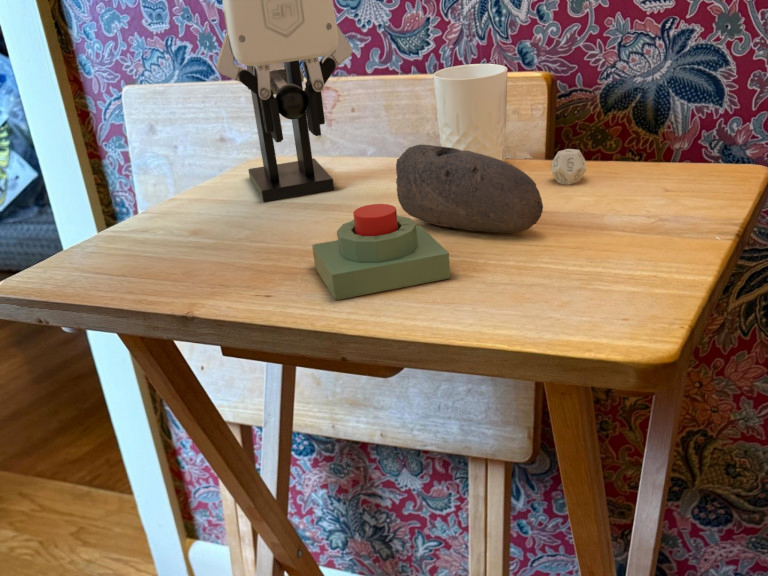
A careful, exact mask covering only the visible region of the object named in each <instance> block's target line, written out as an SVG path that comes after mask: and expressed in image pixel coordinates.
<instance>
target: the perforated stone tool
mask: <svg viewBox="0 0 768 576" xmlns="http://www.w3.org/2000/svg"><path fill="white" fill-rule="evenodd" d="M395 162H396V164H395V173H396V180H395V184H396V193H397V200H398V203H399V205H400V207H401V209H402V210H403V211H404V212H405V213H406V214H408V215H409V216H410V217H412V218H415V219H417V220H420V221H423V222H426V223H429V224H432V225H435V226H438V227H444V228H452V229H457V230H465V231H473V232H475V231H477V232H485V233H495V234H511V233H518V232H523V231H527V230H529V229H531V228H532V227H533V226H534V225H536V224H537V223H538V222H539V220H540V219H541V217H542V214H543V210H544V204H543V203H544V202H543V199H542V196H541V193H540V191H539V189H538V187H537V183H536V182H535V181H534V180H533V179H532V178H531V177H530V176H529V175H528V174H527V173H525V172H524V171H523V170H521V169H520V168H518V167H516V166H515V165H513V164H511V163H508V162H506V161H505V160H504V161H502V160H499V159H496V158H493V157H490V156H486V155H483V154H479V153H475V152H472V151H468V150H464V151H462V150H459V149H455V148H449V147H441V145H431V144H416V145H413V146H410V147H408V148H407V149H405V151H403V153H401V155H400V156H399V157H398V158H396V161H395Z"/></svg>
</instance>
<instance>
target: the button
mask: <svg viewBox="0 0 768 576" xmlns="http://www.w3.org/2000/svg"><path fill="white" fill-rule="evenodd" d="M352 215H353V220H354V224H355V233H356V234H357V235H361V236H380V235H385V234H390V233H392V232H395V231H397V230H398V222H397V215H398V210H397V207H396V206H395V205H392V204H389V203H373V204H367V205H363V206H360V207H358V208H356V209H354V210H353V213H352Z"/></svg>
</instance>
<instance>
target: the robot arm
mask: <svg viewBox="0 0 768 576" xmlns="http://www.w3.org/2000/svg"><path fill="white" fill-rule="evenodd" d="M221 3H222V9H223V17H224V18H223V19H224V23H225V35H224V39H223V42H222V45H221V48H220V52H219V55H218V59H217V62H216V70H217V72H219V74H220V75H222V76H225V77H227V78H229V79H232V80H234V81H237V82H239V83H241V84H242V85H244V86H245V87H246V88H247V89H248V88H249V89H250V90H249V91H250V92H251V91H253V92H254V93H255V94H256V95H258V96H259V97H260V103H261V110H262V116H263V122H264V127H265V131H266V133H271V134H272V137H273V141H275V143H282V141H284V135H283V128H282V122H281V116H280V115H281V114H280V113H279V108H278V102H277V99H276V98H275V97H276V96H274V95H275V94H274V95H273V91H272V90H271V85H270V64H277V63H282V64H284V62H291V61H298V60H299V61H301V64H302V67H303V68H302V69H303V73H304V76H305V80H306V81H305V83H304V85H305V87H304V89H303V91H304V92H305V94H306V97H307V109H306V116H307V123H308V131H309V133H311V134H312V135H313V136H315V137H321V136H322V131H321V130H322V129H321V125H325V123H326V120H325V119H326V118H325V109H324V103H323V95H322V91H323V90H324V88H325V84H326V83H328V80H329V79H330V77H331V76H332V74H333V73H334V72H335V70H336V68H338V66H340V65H341V64H343V63H344V62H345V61H346V60H347V59H348V58H349V57H350V56H352V54H353V47H352V46H351V44H350V43H349V41H348V39H347V38H346V36H345V34H344V33H343V32H342V30H341V28H340V27H339V25H338V23H337V18H336V12H335V5H334V0H221ZM319 58H321V59H320V60H319ZM235 60H236V61H237V62H238V63H240V64H241V65H244V66H246V67H247V66H253V72H254V75H253V74H252V73H250V72H249V71H248V70H247V68H245V67H242V66H240V65H238V64H236V63H235Z"/></svg>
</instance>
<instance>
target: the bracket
mask: <svg viewBox="0 0 768 576" xmlns="http://www.w3.org/2000/svg"><path fill="white" fill-rule="evenodd" d="M283 66H284V67H285V68H286V75H287V82H288V84H295V85H297V86H299V87H300V88H301V89H302V90H303V91H304V88H303V82H304V79H305V78H304V70H303V68H302V67H301V65H300V60H298V61H291V62H284V63H283ZM246 69H247V70H248V71H249V72H250V73H252V74H253V75H254V72H253V66H247V65H246ZM247 90H249V91H250V93H251V99H252V100H251V101H252V105H253V111H254V118H255V123H256V129H257V136H258V142H259V147H260V153H261V160H262V165H263V166H258V167H253V168H251V167H250V168H248V170H247V171H248V175H249V180H250V182H251V183H252V185H253V186H254V189H255V190H256V191H257V193H258V195H259V196H260V198H261V200H262V201H263V202H264V203H265V202H270V201H276V200H283V199H287V198H289V199H290V198H294V197H299V196H306V195H313V194H317V193H324V192H329V191H335V184H334V179H333V177H332V176H331V174H329V173H328V172H327V170H325V169H324V167H323V166H322V165H321V164H320V163H319V162H318V161H317V160H316V158H313V153H312V148H311V147H312V146H311V140H310V139H311V138H310V131H309V129H308V123H307V115H306V111H305V113H304V114H303V115H302V116H301V117H300V118H298V119H293V120H291V123H292V125H291V126H292V132H293V138H294V145H295V151H296V158H297V159H296V160H295V161H289V162H283V163H278V162H277V161H278V160H277V155H276V151H275V150H276V149H275V143H274V139H273V137H272V134H271V133H266V131H265V127H264V122H263V116H262V110H261V103H260V97H259V96H258V95H256V94H255V93H254V92H253V91H251V90H250V89H249V88H248V87H247Z"/></svg>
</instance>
